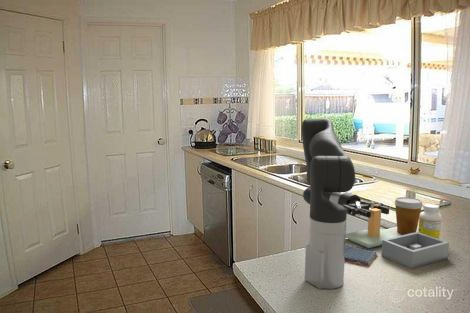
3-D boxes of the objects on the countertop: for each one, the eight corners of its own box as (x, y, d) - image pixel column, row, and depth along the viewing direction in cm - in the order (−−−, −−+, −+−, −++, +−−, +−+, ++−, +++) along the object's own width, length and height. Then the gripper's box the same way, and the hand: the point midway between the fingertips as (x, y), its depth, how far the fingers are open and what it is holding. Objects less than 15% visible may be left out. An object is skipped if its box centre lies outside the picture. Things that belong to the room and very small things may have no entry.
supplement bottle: (420, 237, 136) (423, 202, 134) (441, 242, 132) (444, 205, 130) (415, 243, 131) (417, 206, 129) (437, 247, 127) (439, 209, 125)
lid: (368, 251, 125) (370, 217, 123) (344, 240, 134) (345, 208, 133) (402, 242, 132) (405, 210, 130) (377, 233, 142) (379, 203, 140)
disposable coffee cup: (424, 231, 142) (426, 199, 141) (415, 238, 136) (417, 204, 134) (398, 226, 149) (400, 195, 147) (388, 232, 142) (390, 200, 140)
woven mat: (333, 261, 117) (333, 254, 117) (344, 250, 126) (345, 244, 126) (368, 269, 111) (369, 262, 111) (378, 257, 120) (378, 250, 120)
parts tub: (412, 268, 111) (413, 252, 110) (381, 255, 120) (382, 239, 119) (447, 258, 118) (449, 242, 117) (416, 246, 128) (417, 231, 127)
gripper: (330, 194, 140) (364, 204, 126) (359, 190, 147) (394, 199, 133) (329, 214, 141) (363, 227, 127) (358, 209, 148) (393, 221, 134)
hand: (379, 213), depth 130 cm, fingers open, 8 cm apart
